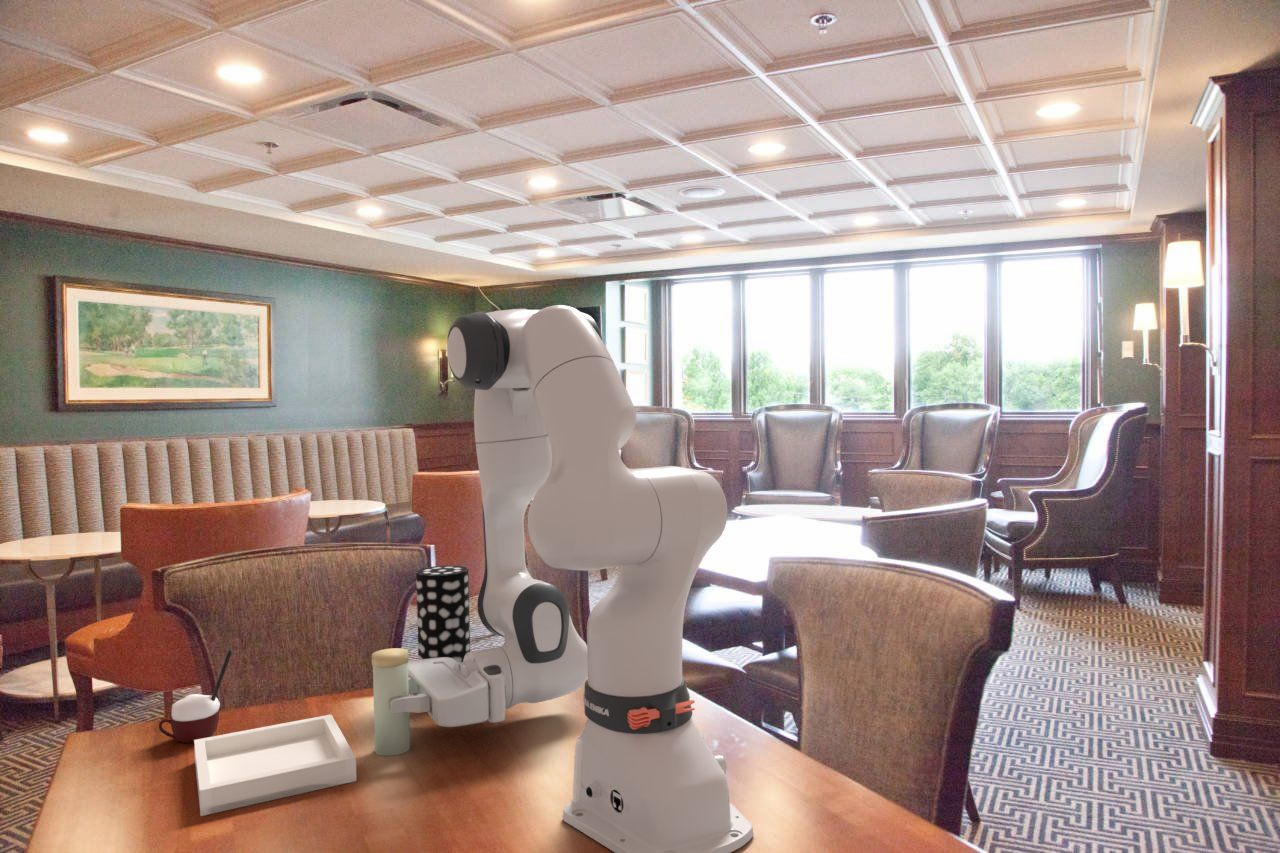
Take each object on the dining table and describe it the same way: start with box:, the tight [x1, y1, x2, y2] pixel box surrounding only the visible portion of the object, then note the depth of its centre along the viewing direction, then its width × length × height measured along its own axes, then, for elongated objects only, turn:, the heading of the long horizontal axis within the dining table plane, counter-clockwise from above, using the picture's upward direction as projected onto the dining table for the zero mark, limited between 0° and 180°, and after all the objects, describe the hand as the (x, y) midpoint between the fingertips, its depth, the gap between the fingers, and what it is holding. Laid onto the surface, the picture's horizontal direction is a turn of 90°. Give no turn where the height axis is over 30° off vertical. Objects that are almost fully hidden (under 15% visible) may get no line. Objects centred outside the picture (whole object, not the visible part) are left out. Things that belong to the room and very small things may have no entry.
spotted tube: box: [415, 565, 471, 663], centre depth 139 cm, size 8×8×20 cm
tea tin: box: [371, 647, 411, 757], centre depth 116 cm, size 5×5×13 cm
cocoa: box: [158, 648, 233, 744], centre depth 122 cm, size 10×6×12 cm, turn 92°
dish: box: [193, 713, 357, 817], centre depth 110 cm, size 17×17×3 cm
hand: (384, 699), depth 116 cm, fingers closed on tea tin, 5 cm apart
